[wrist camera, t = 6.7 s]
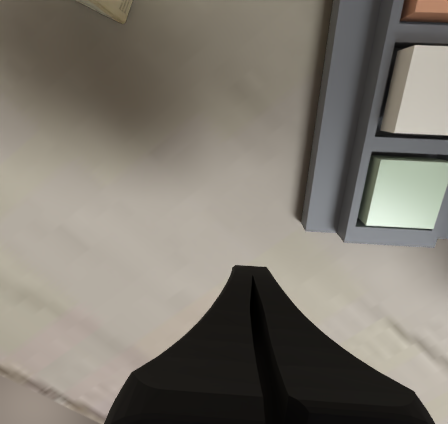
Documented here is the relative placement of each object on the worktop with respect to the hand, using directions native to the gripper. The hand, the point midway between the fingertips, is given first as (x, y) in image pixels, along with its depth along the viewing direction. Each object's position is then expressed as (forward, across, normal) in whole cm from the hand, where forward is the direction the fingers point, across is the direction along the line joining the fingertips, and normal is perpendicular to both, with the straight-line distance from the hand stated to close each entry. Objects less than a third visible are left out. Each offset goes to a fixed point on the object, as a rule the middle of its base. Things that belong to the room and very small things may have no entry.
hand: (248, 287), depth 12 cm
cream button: (+8, -9, -8) cm, 14 cm away
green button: (+8, -9, -2) cm, 13 cm away
